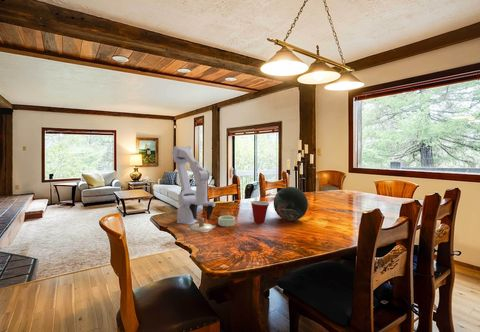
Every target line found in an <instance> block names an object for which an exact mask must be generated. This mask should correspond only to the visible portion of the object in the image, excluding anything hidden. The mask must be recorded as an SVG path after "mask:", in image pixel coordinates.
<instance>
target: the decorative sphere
mask: <svg viewBox="0 0 480 332" xmlns="http://www.w3.org/2000/svg"><path fill="white" fill-rule="evenodd" d="M273 208H274V211H275V213H276V215H277V216H278V217H279V218H281V219H283V220H284V221H289V222H295V221H298V220H300V219H302V218H303V217H304V216H305V214H306V213H307V211H308V208H309V201H308V197H307V195H306V194H305V192H303V191H302V190H301V189H300V188H297V187H295V186H286V187H283V188H281V189H280V190H278V192H276V194H275V196H274V198H273Z"/></svg>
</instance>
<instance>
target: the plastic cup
mask: <svg viewBox="0 0 480 332" xmlns="http://www.w3.org/2000/svg"><path fill="white" fill-rule="evenodd" d="M250 204H251V210H252V216H253V222H254V223H255V224H256V225H257V224H258V225H262V224H264V223H265V221H266V217H267V212H268V209H269V205H270V202H267V201H263V200H262V201H261V200H251V201H250Z"/></svg>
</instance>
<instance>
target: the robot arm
mask: <svg viewBox="0 0 480 332" xmlns="http://www.w3.org/2000/svg"><path fill="white" fill-rule="evenodd" d="M172 158H173V162H174V163H176V164H175V165H176V168H177V172H178V177H179V183H180V186H181V191H180V193H179V194H178V195H177V196H178V205H179V207H177V212H176V219H177V220H176V221H177V222H176V224H183V225H184V224H186V225H194V224H196V223H197V222H199V219H198V220H196V219H197V217H198V213H197V211H198V206H201V207H202V206H203V207H204V206H205V210H206V221H210V219H211V215H212V212H213V210H214V209H215V206H216V202H214V201H209V200H208V181H209V180H210V176H211V175H210V172H209V170H208V169H205V168H204V167H203V166H202V165H201V163H200V162H199V160H196V158H195V156H194V155H193V149H192V147H191V146H178V145H175V146H173V148H172ZM187 163H188V164H189V169H190V171H191V172H192V173H193V179H194V184H195V190H193V189H192V187H191V186H192V185H191V182H190V178H189V172H188V169H187V165H186V164H187Z"/></svg>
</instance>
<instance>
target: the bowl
mask: <svg viewBox="0 0 480 332" xmlns="http://www.w3.org/2000/svg"><path fill="white" fill-rule="evenodd" d="M217 219H218V223H217V224H218V225H219V226H221V227H233V226H235V225H236V217H235V216H233V215H221V216H219V217H218V218H217Z"/></svg>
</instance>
